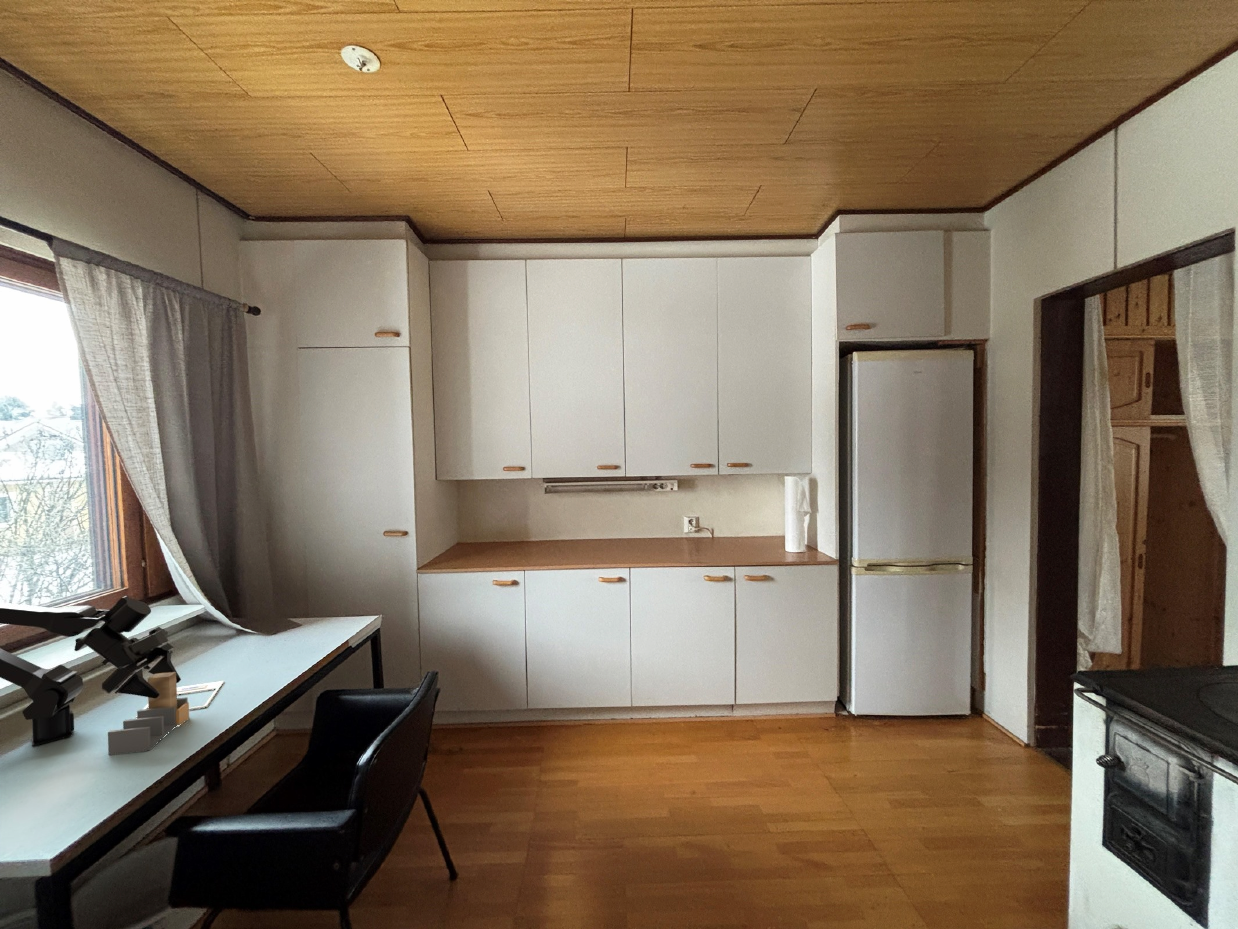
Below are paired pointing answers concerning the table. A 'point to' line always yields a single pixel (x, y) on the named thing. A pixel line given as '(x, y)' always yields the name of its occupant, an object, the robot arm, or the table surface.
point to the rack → (147, 728)
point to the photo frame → (197, 689)
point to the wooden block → (163, 690)
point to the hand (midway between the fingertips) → (169, 688)
